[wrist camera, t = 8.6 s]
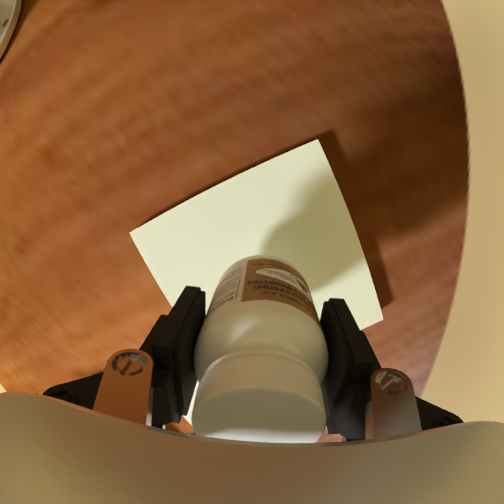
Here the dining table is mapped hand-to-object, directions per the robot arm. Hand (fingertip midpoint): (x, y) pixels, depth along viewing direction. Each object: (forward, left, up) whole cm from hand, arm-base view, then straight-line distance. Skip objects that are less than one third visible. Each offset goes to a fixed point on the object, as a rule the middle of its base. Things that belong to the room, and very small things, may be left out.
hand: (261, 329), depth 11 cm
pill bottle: (0, 0, -3) cm, 3 cm away
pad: (0, 0, -6) cm, 6 cm away
